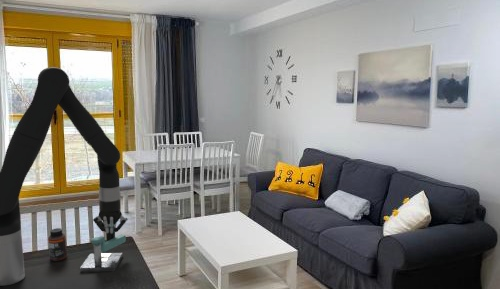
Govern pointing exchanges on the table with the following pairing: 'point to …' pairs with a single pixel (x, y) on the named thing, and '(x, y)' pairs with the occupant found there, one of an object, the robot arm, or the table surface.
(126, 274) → the table surface
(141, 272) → the table surface
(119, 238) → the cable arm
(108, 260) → the plate
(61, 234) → the supplement bottle
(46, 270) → the table surface
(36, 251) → the table surface
